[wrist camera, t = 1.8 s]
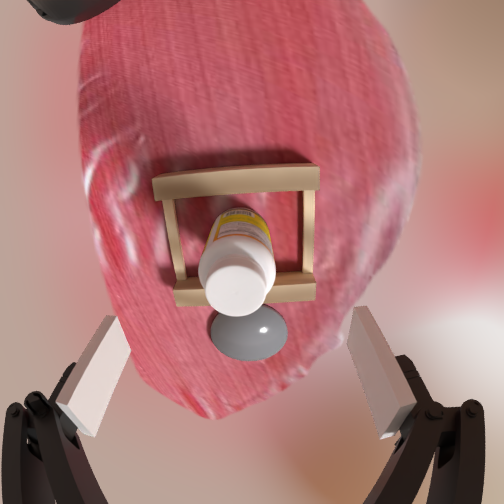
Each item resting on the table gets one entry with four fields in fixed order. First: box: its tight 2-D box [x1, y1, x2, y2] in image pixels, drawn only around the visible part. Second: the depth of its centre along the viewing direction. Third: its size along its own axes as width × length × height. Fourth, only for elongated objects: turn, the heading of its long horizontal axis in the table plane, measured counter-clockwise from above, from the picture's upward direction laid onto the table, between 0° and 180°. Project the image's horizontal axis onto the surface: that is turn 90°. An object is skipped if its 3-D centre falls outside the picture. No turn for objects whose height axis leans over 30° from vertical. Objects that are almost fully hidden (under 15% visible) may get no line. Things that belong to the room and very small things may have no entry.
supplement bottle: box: [198, 208, 276, 316], centre depth 22 cm, size 6×6×10 cm
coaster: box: [211, 304, 288, 361], centre depth 32 cm, size 9×9×1 cm
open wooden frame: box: [152, 163, 320, 306], centre depth 25 cm, size 13×14×2 cm
